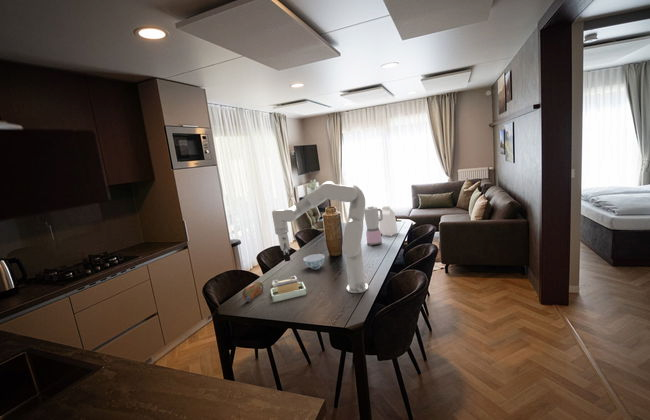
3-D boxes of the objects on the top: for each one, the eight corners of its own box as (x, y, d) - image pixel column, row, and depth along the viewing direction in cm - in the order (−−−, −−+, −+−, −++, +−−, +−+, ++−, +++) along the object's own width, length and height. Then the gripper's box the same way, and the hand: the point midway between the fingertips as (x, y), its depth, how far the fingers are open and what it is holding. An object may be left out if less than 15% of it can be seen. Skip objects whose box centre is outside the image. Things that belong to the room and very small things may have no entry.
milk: (380, 235, 281) (377, 207, 276) (386, 231, 289) (383, 205, 285) (391, 235, 273) (389, 207, 269) (397, 232, 281) (395, 205, 277)
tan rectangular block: (299, 291, 179) (297, 280, 178) (278, 296, 176) (277, 285, 175) (298, 289, 182) (296, 278, 181) (278, 294, 179) (276, 283, 178)
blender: (370, 247, 248) (365, 208, 243) (365, 243, 260) (360, 206, 255) (388, 243, 252) (384, 205, 246) (382, 240, 263) (378, 204, 258)
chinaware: (323, 271, 209) (322, 260, 207) (302, 272, 212) (300, 261, 210) (327, 263, 223) (326, 253, 222) (307, 264, 226) (306, 254, 225)
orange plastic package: (246, 304, 173) (244, 290, 172) (242, 303, 175) (240, 289, 174) (264, 292, 186) (262, 279, 184) (261, 292, 187) (258, 279, 186)
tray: (306, 294, 176) (306, 288, 175) (273, 302, 171) (272, 296, 171) (303, 286, 187) (302, 281, 186) (271, 294, 183) (270, 288, 182)
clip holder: (299, 285, 190) (298, 280, 189) (273, 291, 186) (272, 286, 185) (296, 278, 201) (295, 273, 201) (272, 284, 198) (271, 279, 197)
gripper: (290, 231, 168) (295, 261, 171) (285, 226, 184) (290, 253, 187) (277, 234, 166) (282, 264, 169) (273, 229, 183) (278, 256, 185)
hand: (286, 258), depth 178 cm, fingers open, 9 cm apart
